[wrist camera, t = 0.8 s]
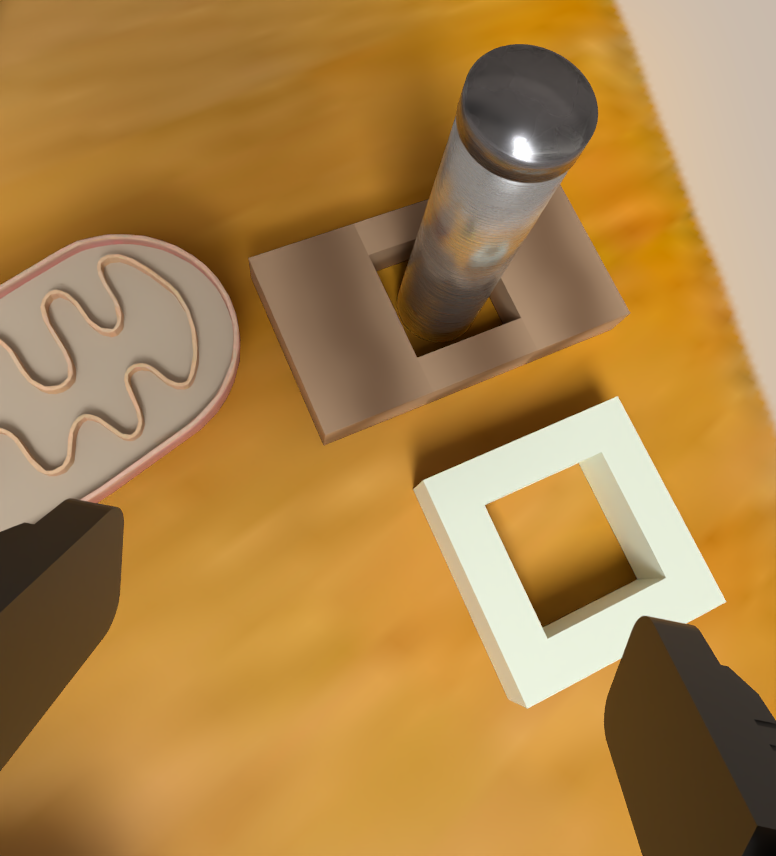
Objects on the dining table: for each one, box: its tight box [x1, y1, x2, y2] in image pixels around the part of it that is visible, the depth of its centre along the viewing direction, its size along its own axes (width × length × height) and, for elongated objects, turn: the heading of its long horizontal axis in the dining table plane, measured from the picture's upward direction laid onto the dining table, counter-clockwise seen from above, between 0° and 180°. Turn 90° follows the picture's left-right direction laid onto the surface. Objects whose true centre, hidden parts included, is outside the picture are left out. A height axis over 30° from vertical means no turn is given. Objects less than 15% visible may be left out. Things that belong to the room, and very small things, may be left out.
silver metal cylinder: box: [397, 44, 598, 342], centre depth 26 cm, size 4×4×14 cm
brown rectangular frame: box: [249, 185, 630, 445], centre depth 32 cm, size 16×9×2 cm, turn 114°
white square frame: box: [413, 396, 726, 709], centre depth 29 cm, size 10×10×2 cm
